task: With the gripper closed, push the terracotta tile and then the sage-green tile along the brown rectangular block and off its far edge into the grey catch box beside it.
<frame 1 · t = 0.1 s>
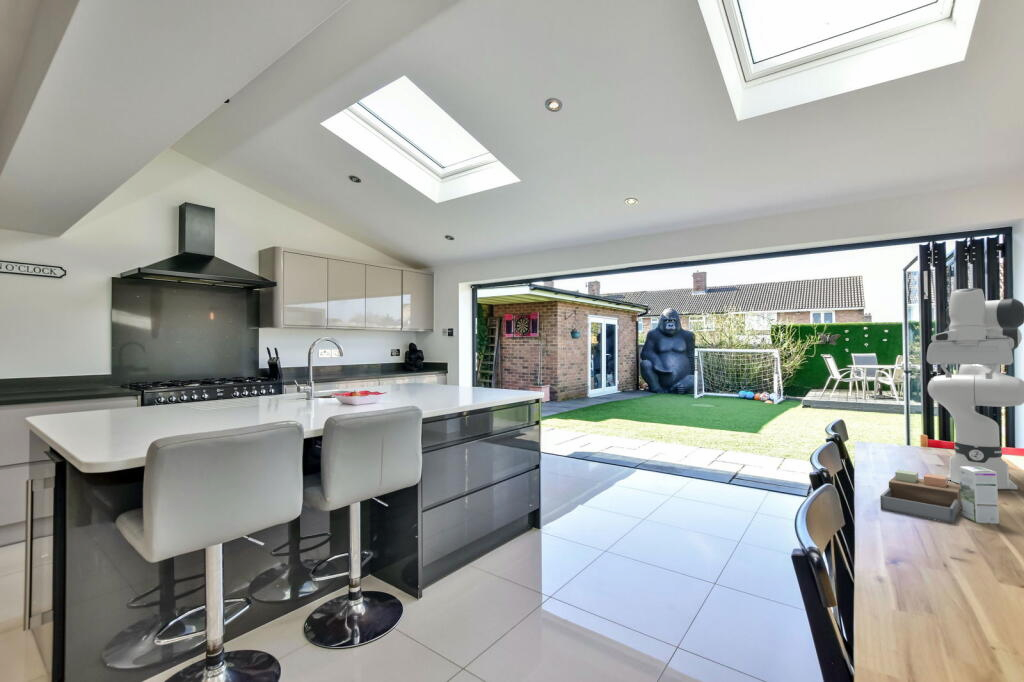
hand: (968, 378, 152), 39 cm above the table, tool pointing down, fingers open, 8 cm apart
syrup box: (979, 520, 132), on the table
brown rectangular block: (925, 502, 147), on the table
sage-green tile: (906, 479, 152), point 6 cm above the table, touching brown rectangular block
catch box: (918, 511, 139), on the table
terracotta tile: (935, 484, 146), point 6 cm above the table, touching brown rectangular block
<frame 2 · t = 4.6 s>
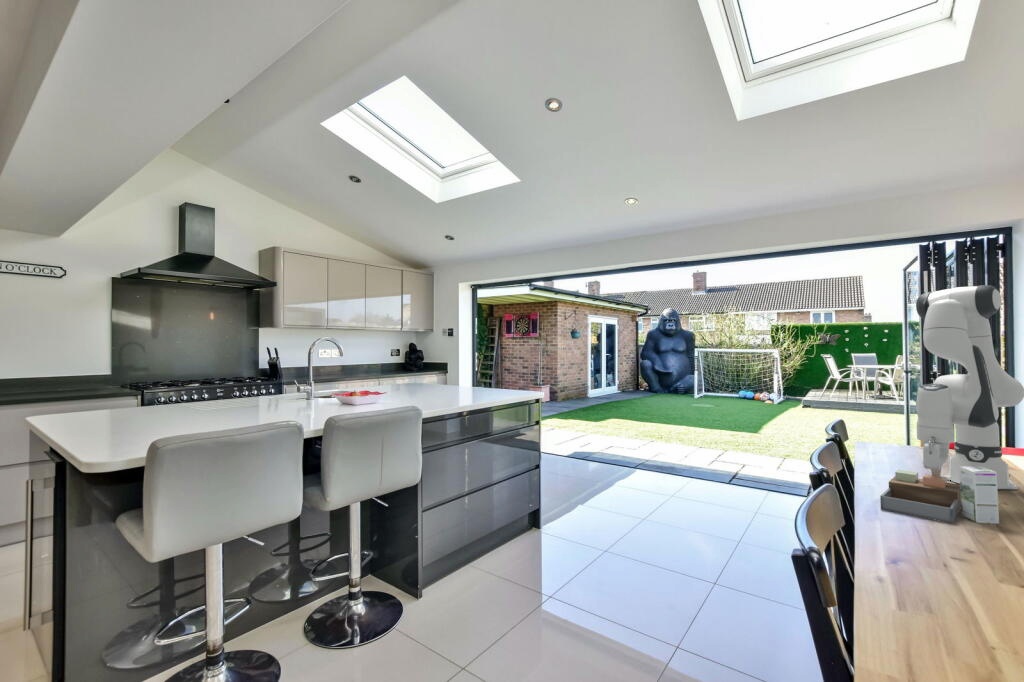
hand: (936, 479, 148), 7 cm above the table, tool pointing down, fingers closed
terracotta tile: (934, 485, 145), point 6 cm above the table, touching gripper
everything else where it was.
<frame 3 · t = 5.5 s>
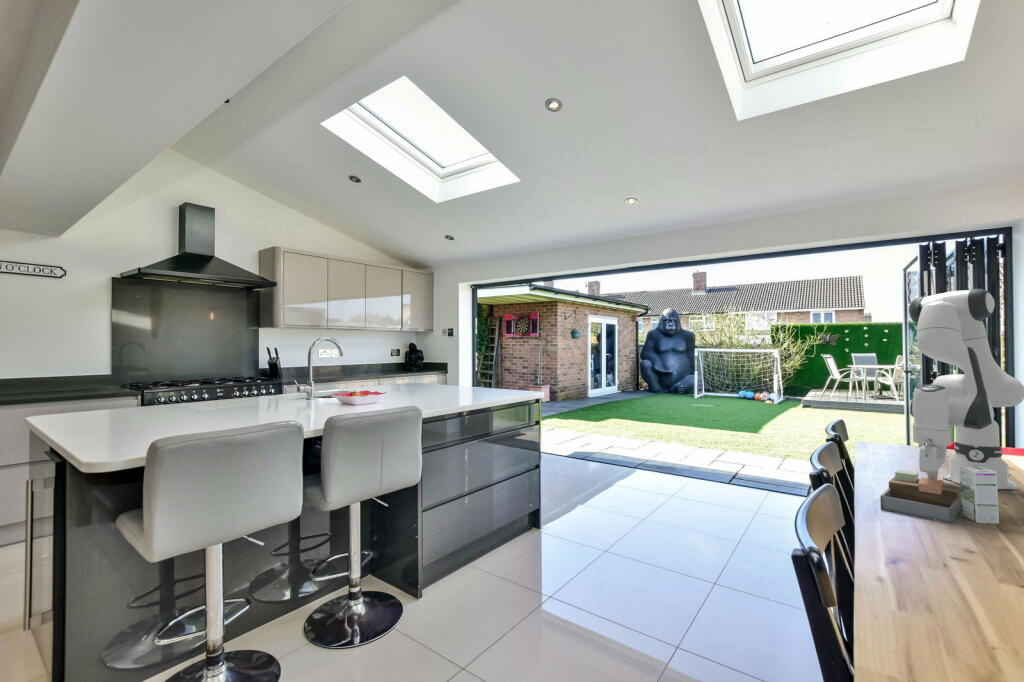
hand: (933, 482, 144), 7 cm above the table, tool pointing down, fingers closed
terracotta tile: (931, 489, 141), point 6 cm above the table, tilted 11°, touching gripper, brown rectangular block
everything else where it was.
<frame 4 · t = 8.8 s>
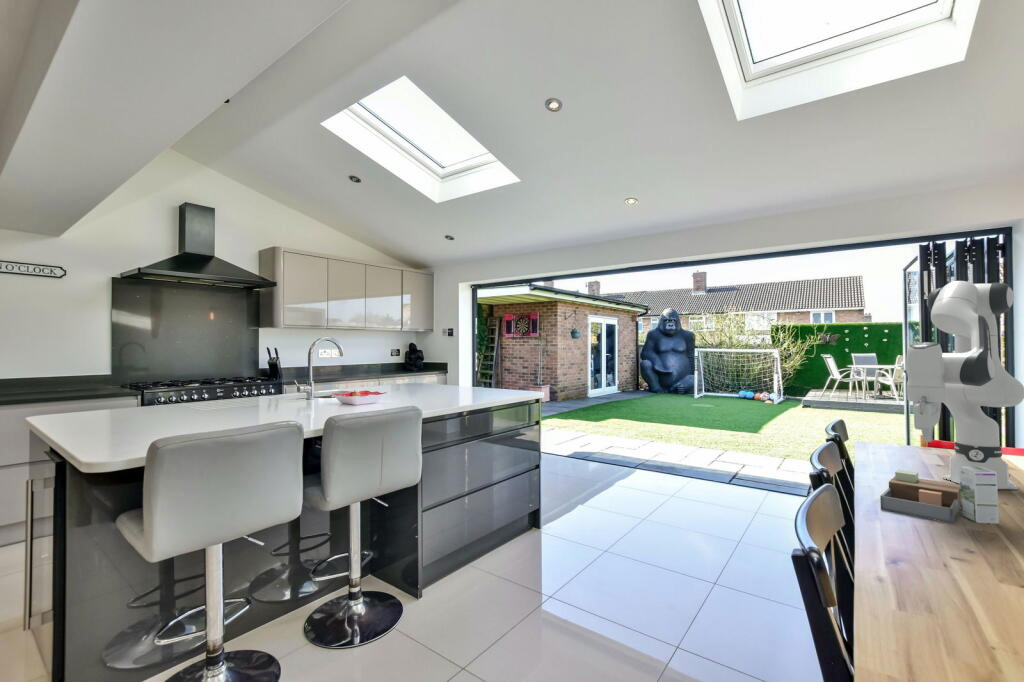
hand: (928, 441, 142), 20 cm above the table, tool pointing down, fingers closed
terracotta tile: (931, 499, 141), point 3 cm above the table, tilted 90°, touching catch box
everything else where it was.
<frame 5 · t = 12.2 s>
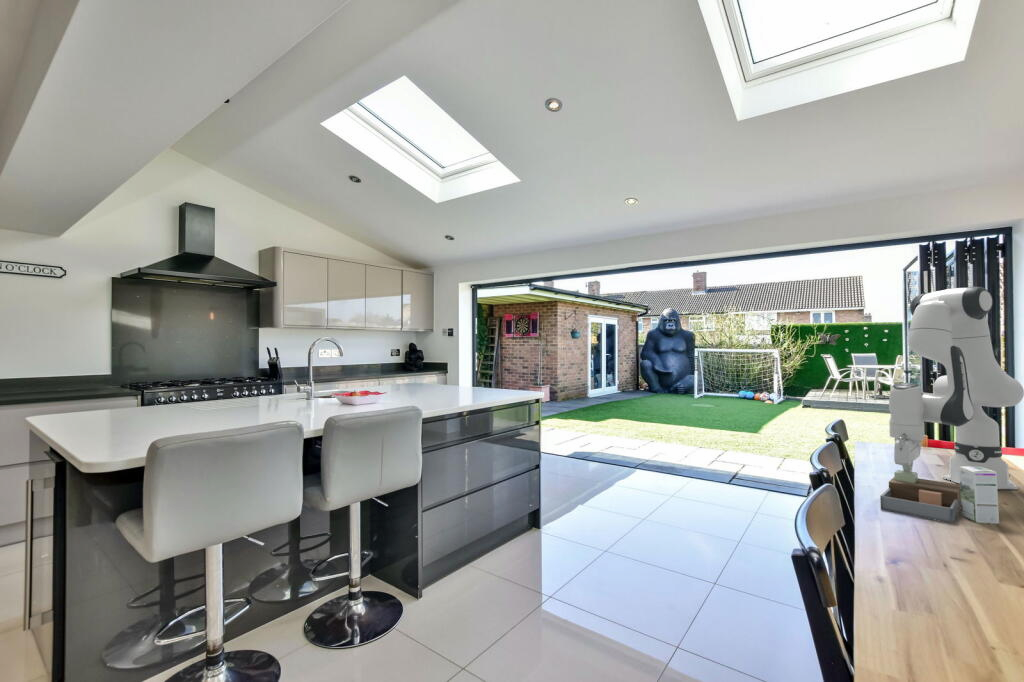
hand: (907, 474, 154), 7 cm above the table, tool pointing down, fingers closed
sage-green tile: (906, 480, 151), point 6 cm above the table, touching gripper
everything else where it was.
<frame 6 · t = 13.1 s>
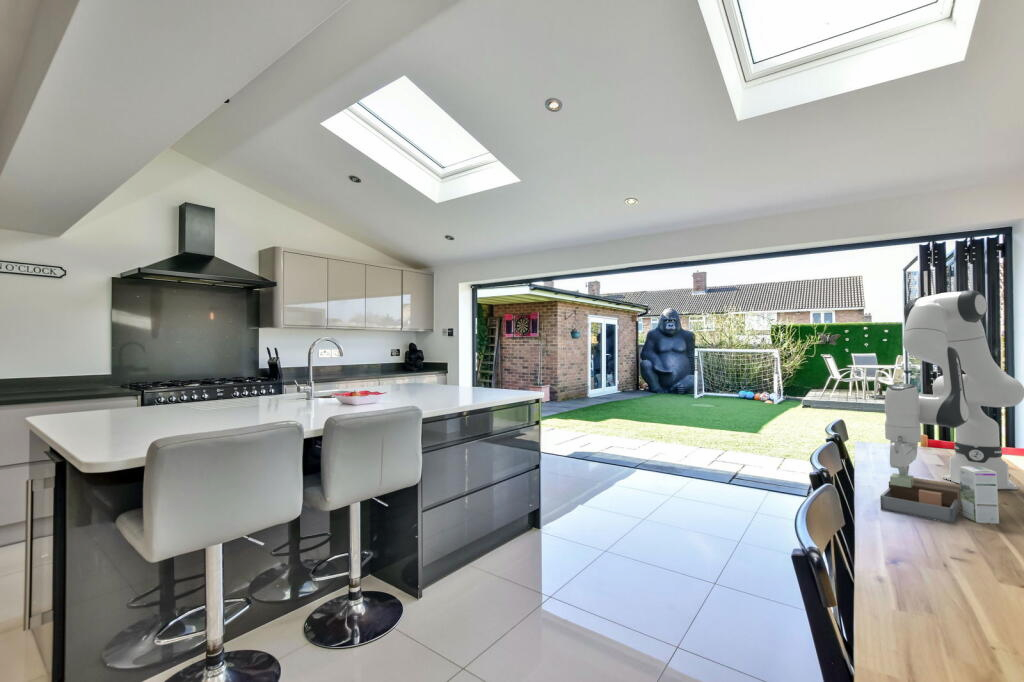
hand: (903, 478, 149), 7 cm above the table, tool pointing down, fingers closed
sage-green tile: (902, 484, 147), point 6 cm above the table, touching gripper
everything else where it was.
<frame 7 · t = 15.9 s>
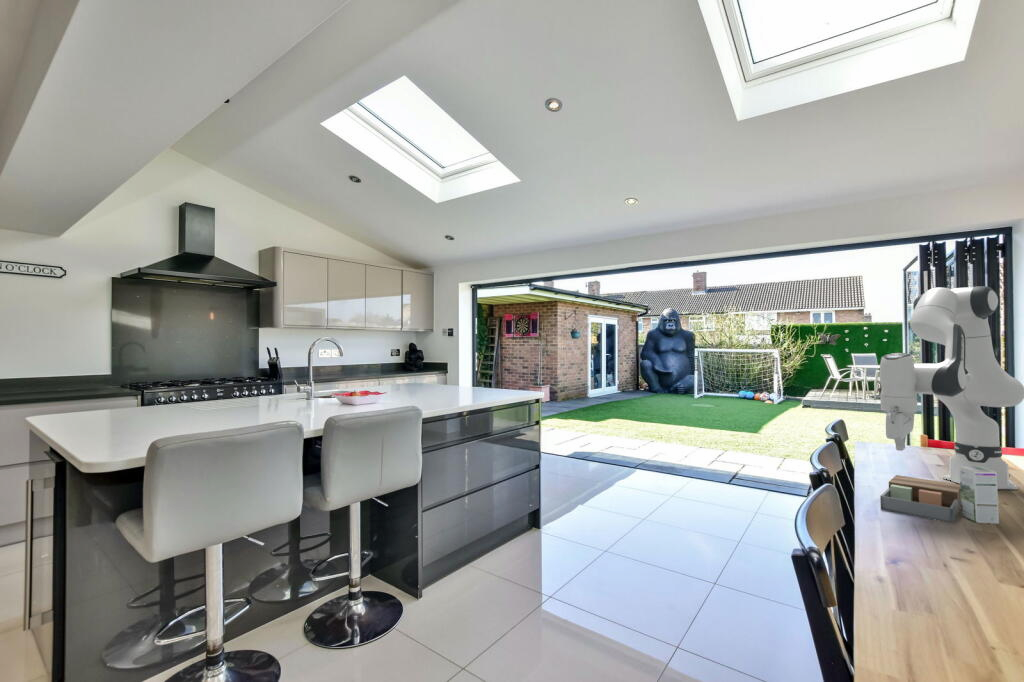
hand: (900, 449, 145), 17 cm above the table, tool pointing down, fingers closed
sage-green tile: (902, 494, 147), point 3 cm above the table, tilted 90°, touching catch box
everything else where it was.
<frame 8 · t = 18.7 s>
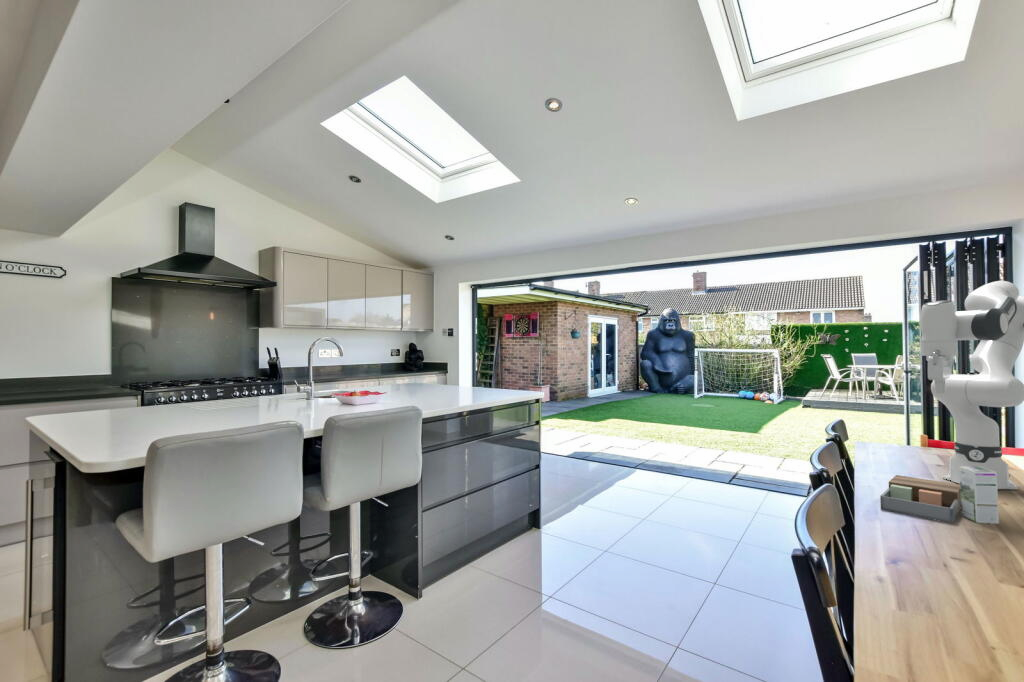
hand: (940, 393, 151), 34 cm above the table, tool pointing down, fingers closed
nothing on the table moved.
at the end: terracotta tile inside the target area (4.6 cm from its centre), point 3.0 cm above the table; sage-green tile inside the target area (6.4 cm from its centre), point 3.0 cm above the table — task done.
